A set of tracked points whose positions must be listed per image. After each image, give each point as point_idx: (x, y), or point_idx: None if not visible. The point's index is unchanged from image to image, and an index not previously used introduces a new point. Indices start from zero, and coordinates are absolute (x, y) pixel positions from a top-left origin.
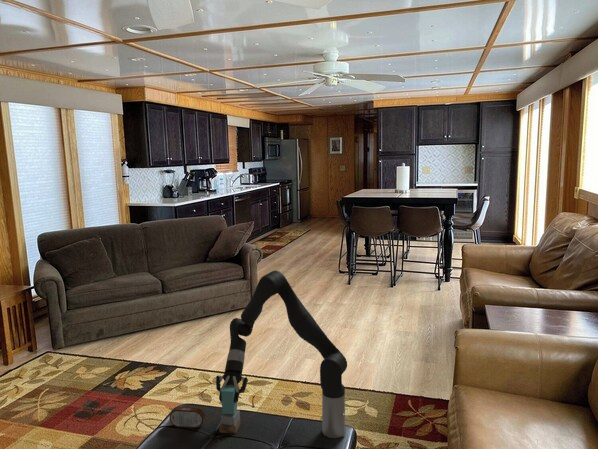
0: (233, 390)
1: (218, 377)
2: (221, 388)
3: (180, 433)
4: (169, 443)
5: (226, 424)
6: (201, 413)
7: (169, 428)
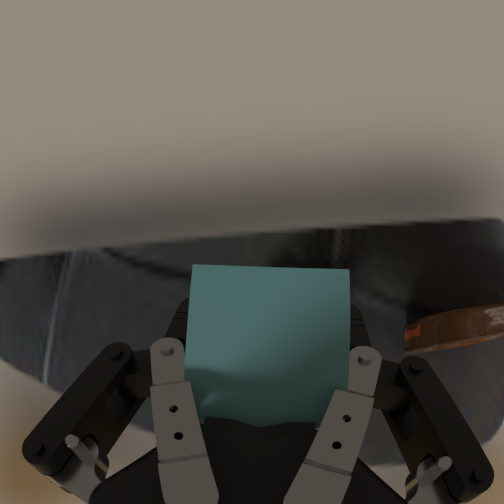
0: (193, 291)
1: (467, 475)
2: (372, 370)
3: (457, 280)
4: (459, 219)
5: None
6: (431, 325)
7: None
